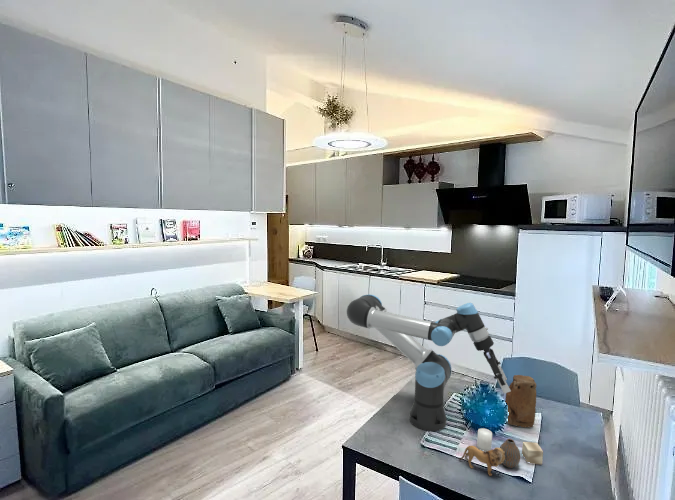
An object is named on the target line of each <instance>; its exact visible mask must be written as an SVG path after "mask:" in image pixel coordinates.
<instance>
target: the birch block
mask: <svg viewBox="0 0 675 500" xmlns="http://www.w3.org/2000/svg"><path fill="white" fill-rule="evenodd" d="M522 454H523V456H524V457H525V459H526V460H525V459H524V460H525V462H526V461H527V462H530V463H535V464H534V465H543V461H544V460H543V458H544V457H543V456H544V451H543V449H542V448H541V446H540V445H539V443H538V442H532V441H531V442H530V441H523V442H522V447H521V455H522ZM523 456H522V457H523ZM524 457H523V458H524ZM527 462H526V463H527Z"/></svg>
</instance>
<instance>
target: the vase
mask: <svg viewBox="0 0 675 500" xmlns="http://www.w3.org/2000/svg"><path fill="white" fill-rule="evenodd" d="M499 448H501V449H502V450H503V451H504V452H505V454H504V455H505V460H504V461H503V463H502V464H503V466H504V467H506V466H507V468H509V467H510V469H512V468H513V467H514V468H516V467H517V466H519V463H520V462H521V451H520V449H519V447H518V445H517V444H516V442H515V440H514V439H512V438H507V439H506V441H504V442H502V443H501V445H500V446H499Z"/></svg>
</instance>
